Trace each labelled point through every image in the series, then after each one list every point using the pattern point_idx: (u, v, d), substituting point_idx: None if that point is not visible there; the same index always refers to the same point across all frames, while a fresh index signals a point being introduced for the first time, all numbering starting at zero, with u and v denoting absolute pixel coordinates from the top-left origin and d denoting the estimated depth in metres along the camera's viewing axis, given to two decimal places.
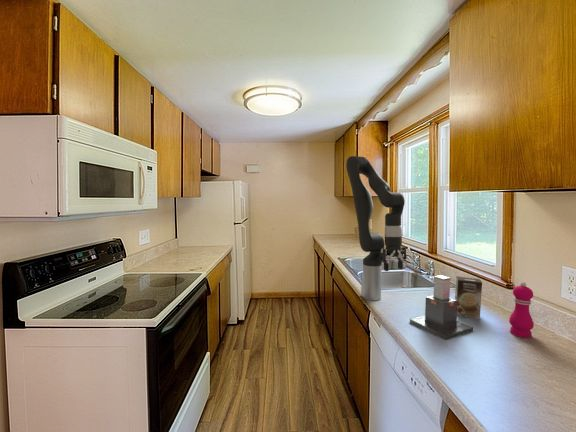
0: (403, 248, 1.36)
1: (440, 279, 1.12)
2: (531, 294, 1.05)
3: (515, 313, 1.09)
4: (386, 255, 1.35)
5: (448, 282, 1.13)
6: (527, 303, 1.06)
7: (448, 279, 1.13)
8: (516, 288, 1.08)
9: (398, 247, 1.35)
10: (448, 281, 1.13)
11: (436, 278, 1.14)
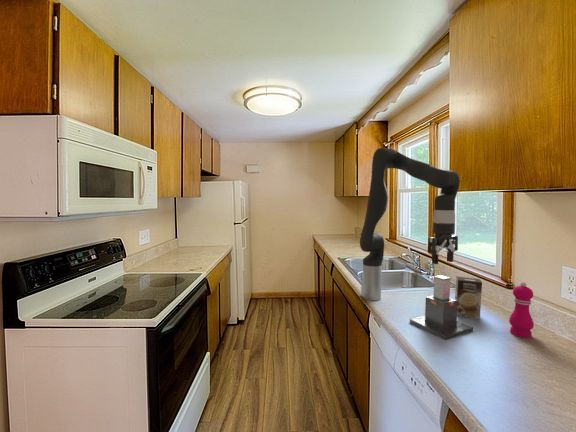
0: (454, 237, 1.15)
1: (440, 279, 1.12)
2: (531, 294, 1.05)
3: (515, 313, 1.09)
4: None
5: (448, 282, 1.13)
6: (527, 303, 1.06)
7: (448, 279, 1.13)
8: (516, 288, 1.08)
9: (449, 236, 1.13)
10: (448, 281, 1.13)
11: (436, 278, 1.14)
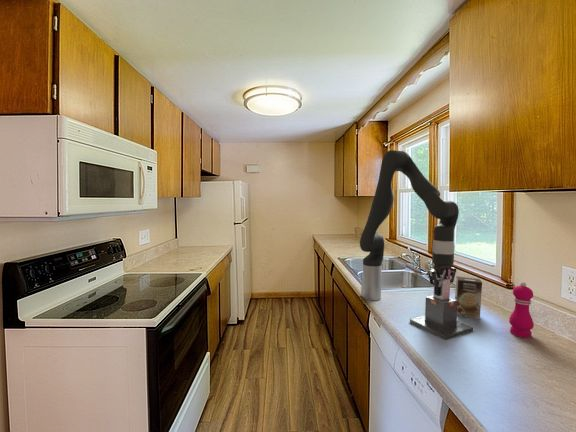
0: (453, 269, 1.16)
1: None
2: (531, 294, 1.05)
3: (515, 313, 1.09)
4: (435, 275, 1.15)
5: (448, 282, 1.13)
6: (527, 303, 1.06)
7: (448, 279, 1.13)
8: (516, 288, 1.08)
9: (449, 265, 1.14)
10: (448, 281, 1.13)
11: None
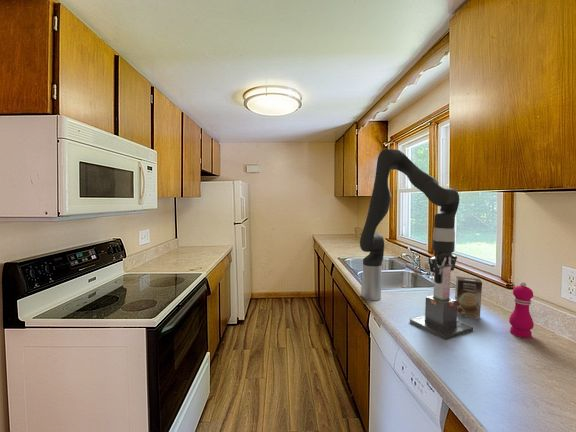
0: (453, 257, 1.15)
1: None
2: (531, 294, 1.05)
3: (515, 313, 1.09)
4: None
5: (449, 269, 1.12)
6: (527, 303, 1.06)
7: (448, 267, 1.12)
8: (516, 288, 1.08)
9: (450, 253, 1.13)
10: (448, 269, 1.12)
11: None
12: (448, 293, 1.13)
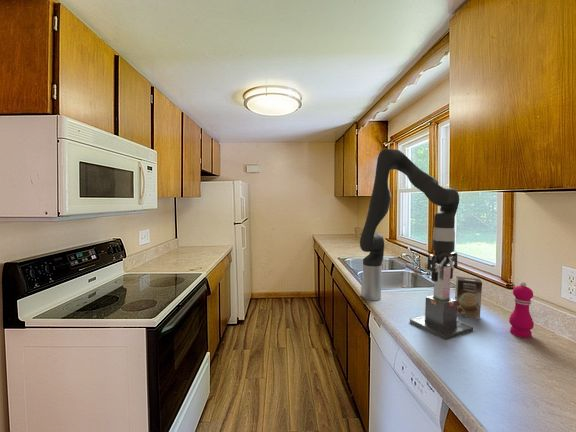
0: (454, 254, 1.15)
1: None
2: (531, 294, 1.05)
3: (515, 313, 1.09)
4: (434, 262, 1.14)
5: (449, 269, 1.12)
6: (527, 303, 1.06)
7: (448, 267, 1.12)
8: (516, 288, 1.08)
9: (449, 253, 1.13)
10: (448, 269, 1.12)
11: None
12: (448, 293, 1.13)
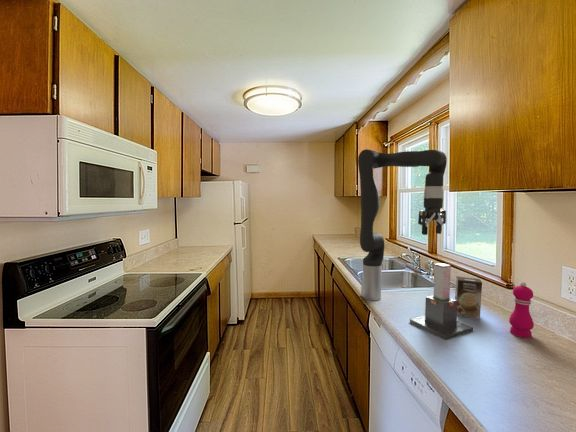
0: (442, 211, 1.27)
1: (440, 267, 1.12)
2: (531, 294, 1.05)
3: (515, 313, 1.09)
4: (425, 218, 1.26)
5: (449, 269, 1.12)
6: (527, 303, 1.06)
7: (448, 267, 1.12)
8: (516, 288, 1.08)
9: (438, 210, 1.26)
10: (448, 269, 1.12)
11: (436, 266, 1.14)
12: (448, 293, 1.13)
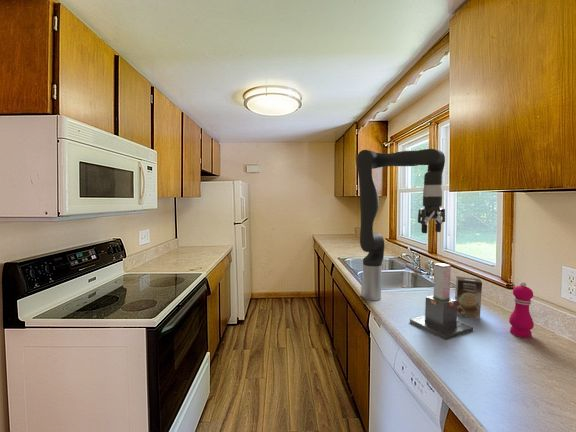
0: (442, 210, 1.28)
1: (440, 267, 1.12)
2: (531, 294, 1.05)
3: (515, 313, 1.09)
4: (424, 217, 1.27)
5: (449, 269, 1.12)
6: (527, 303, 1.06)
7: (448, 267, 1.12)
8: (516, 288, 1.08)
9: (437, 208, 1.26)
10: (448, 269, 1.12)
11: (436, 266, 1.14)
12: (448, 293, 1.13)
